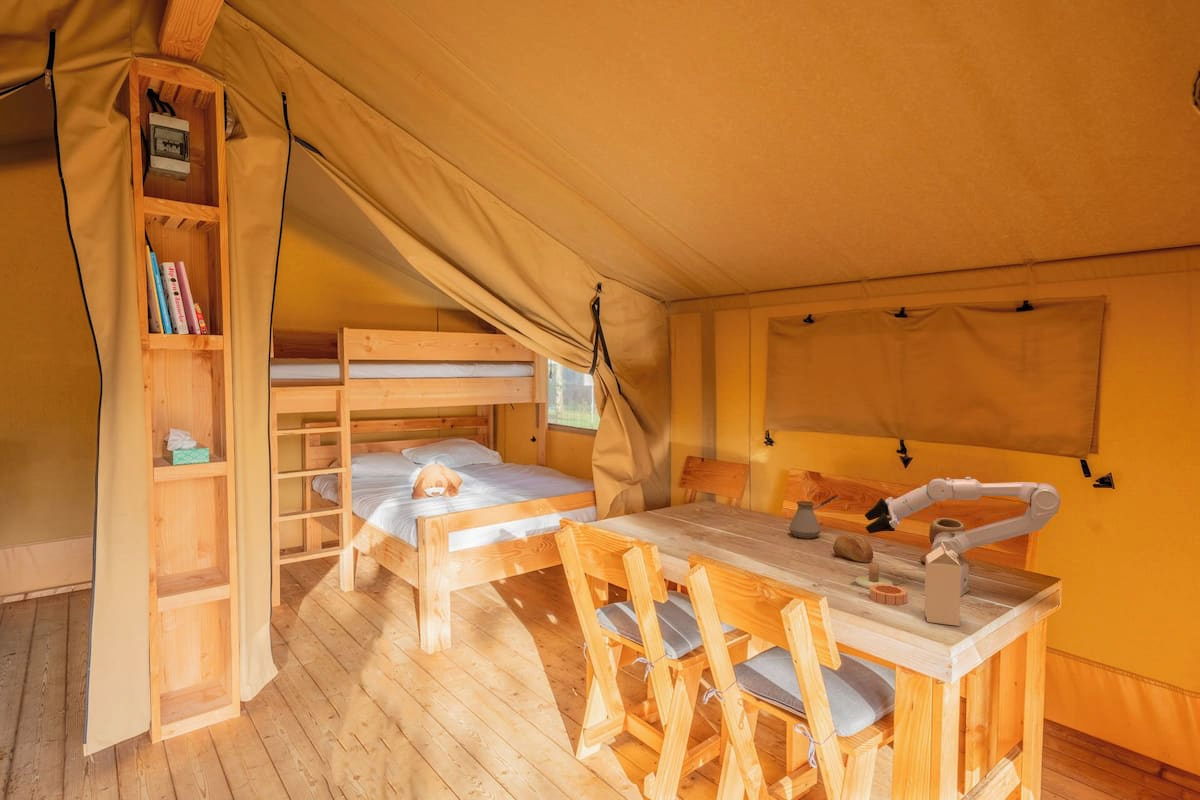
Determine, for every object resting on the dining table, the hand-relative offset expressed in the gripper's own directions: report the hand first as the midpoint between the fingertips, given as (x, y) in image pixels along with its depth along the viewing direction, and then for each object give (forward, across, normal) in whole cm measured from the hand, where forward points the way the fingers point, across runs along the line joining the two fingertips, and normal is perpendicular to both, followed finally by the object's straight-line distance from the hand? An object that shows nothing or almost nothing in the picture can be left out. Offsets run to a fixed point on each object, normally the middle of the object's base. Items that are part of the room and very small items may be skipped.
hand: (867, 523), depth 198 cm
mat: (+6, +13, +12) cm, 18 cm away
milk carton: (-10, +34, +15) cm, 38 cm away
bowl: (+2, +24, +11) cm, 26 cm away
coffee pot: (+30, -41, +16) cm, 53 cm away
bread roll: (+15, -13, +16) cm, 26 cm away
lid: (+6, +12, +11) cm, 18 cm away
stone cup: (-8, -16, +33) cm, 38 cm away
